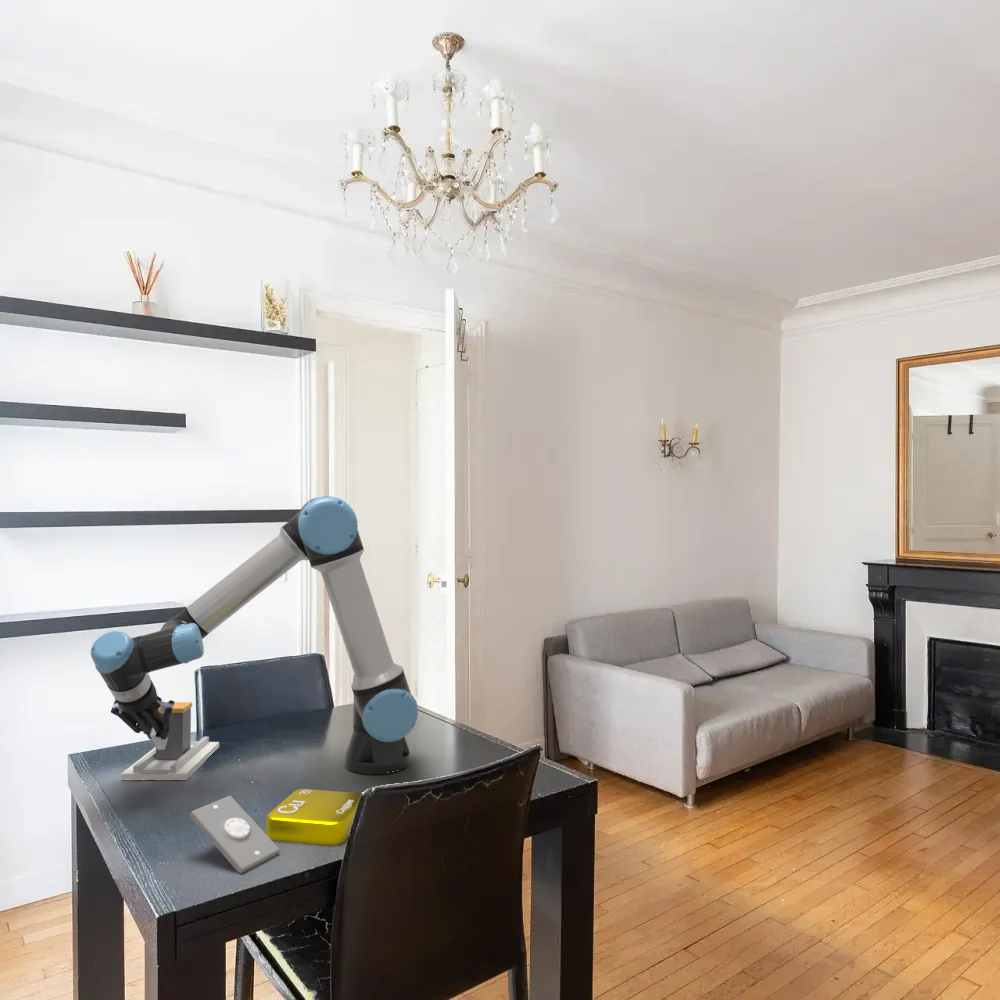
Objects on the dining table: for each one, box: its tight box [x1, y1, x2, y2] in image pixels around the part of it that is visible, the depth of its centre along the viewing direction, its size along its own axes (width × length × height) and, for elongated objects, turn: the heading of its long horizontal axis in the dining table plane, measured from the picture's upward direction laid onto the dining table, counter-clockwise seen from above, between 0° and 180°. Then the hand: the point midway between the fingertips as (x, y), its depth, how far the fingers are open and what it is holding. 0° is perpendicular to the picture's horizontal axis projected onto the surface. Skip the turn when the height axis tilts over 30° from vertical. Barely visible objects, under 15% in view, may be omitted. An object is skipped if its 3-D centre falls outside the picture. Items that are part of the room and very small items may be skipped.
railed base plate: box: [120, 736, 220, 782], centre depth 178 cm, size 22×14×3 cm, turn 2°
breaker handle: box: [155, 701, 193, 760], centre depth 178 cm, size 5×6×12 cm
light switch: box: [189, 795, 280, 874], centre depth 133 cm, size 8×6×14 cm
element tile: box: [265, 788, 361, 846], centre depth 145 cm, size 15×15×5 cm
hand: (163, 743), depth 174 cm, fingers closed
